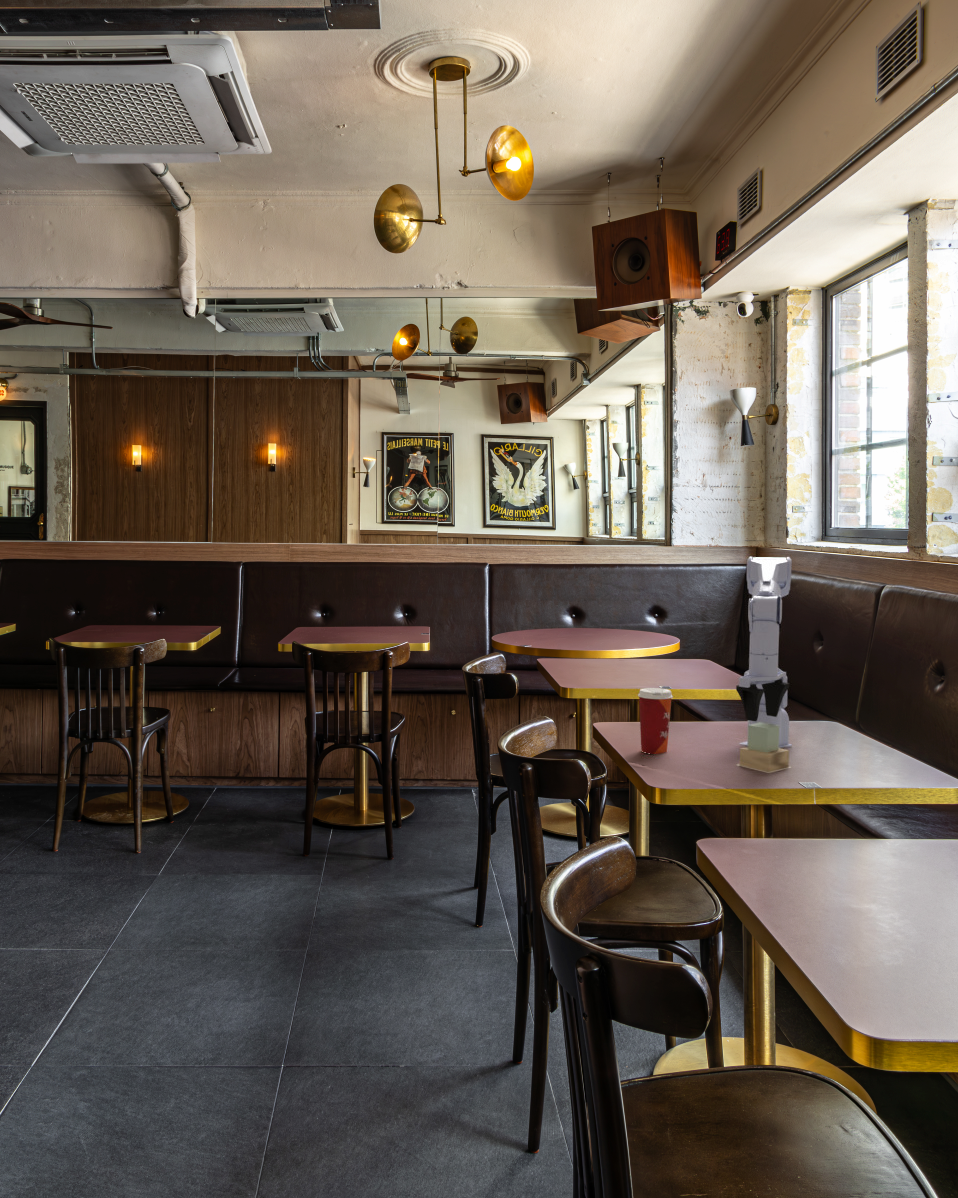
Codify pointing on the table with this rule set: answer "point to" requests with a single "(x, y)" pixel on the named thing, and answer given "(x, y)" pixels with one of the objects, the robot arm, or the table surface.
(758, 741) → the sage block
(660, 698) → the paper cup
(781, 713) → the robot arm
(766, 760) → the oak base
